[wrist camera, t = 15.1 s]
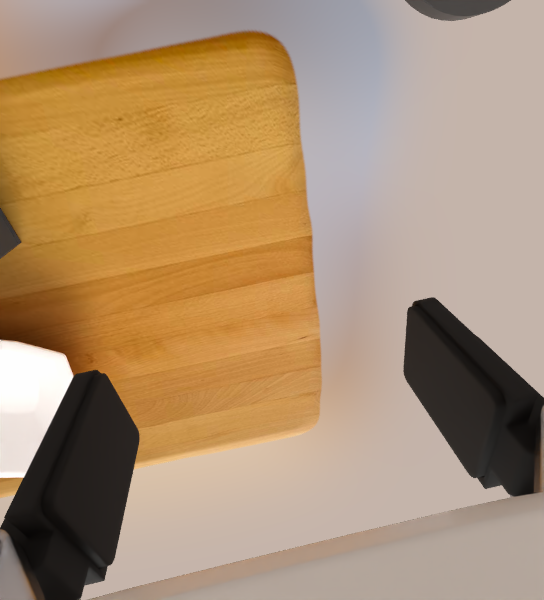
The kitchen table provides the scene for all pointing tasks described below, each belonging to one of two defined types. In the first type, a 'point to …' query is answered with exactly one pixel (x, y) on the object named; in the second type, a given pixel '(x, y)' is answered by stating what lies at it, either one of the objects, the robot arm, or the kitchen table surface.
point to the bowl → (28, 401)
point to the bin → (7, 236)
